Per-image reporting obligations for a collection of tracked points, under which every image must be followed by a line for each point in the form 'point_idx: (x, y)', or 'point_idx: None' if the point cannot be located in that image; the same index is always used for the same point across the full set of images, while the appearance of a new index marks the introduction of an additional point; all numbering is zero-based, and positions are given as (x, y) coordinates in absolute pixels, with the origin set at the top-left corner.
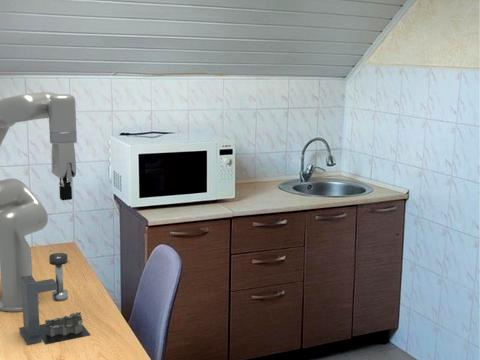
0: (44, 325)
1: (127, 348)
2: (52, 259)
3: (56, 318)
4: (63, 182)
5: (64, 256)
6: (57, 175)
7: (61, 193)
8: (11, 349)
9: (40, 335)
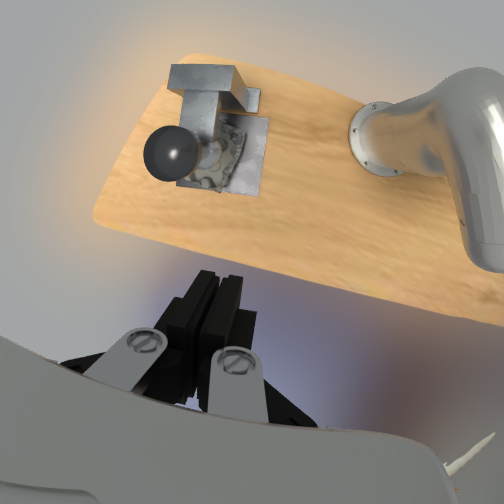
0: (259, 134)
1: (111, 213)
2: (158, 130)
3: (240, 151)
4: (106, 365)
5: (151, 167)
6: (8, 359)
7: (186, 295)
8: (200, 62)
9: (222, 114)
